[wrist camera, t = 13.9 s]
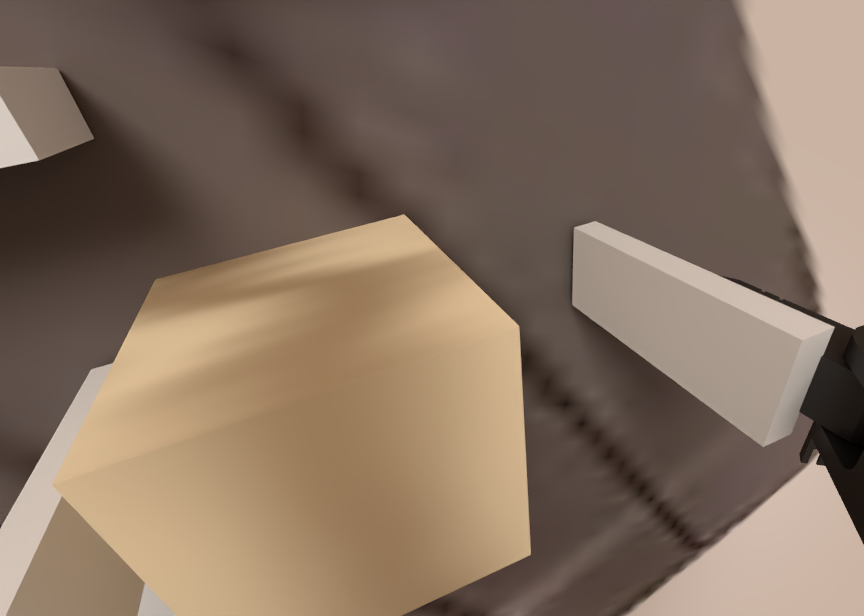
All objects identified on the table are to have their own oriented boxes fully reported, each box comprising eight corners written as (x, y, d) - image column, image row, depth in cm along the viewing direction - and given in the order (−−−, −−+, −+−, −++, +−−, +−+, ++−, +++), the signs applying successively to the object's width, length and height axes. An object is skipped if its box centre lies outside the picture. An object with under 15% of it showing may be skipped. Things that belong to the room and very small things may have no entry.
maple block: (251, 453, 13) (245, 688, 8) (155, 277, 10) (51, 485, 5) (436, 387, 14) (530, 554, 9) (403, 213, 11) (518, 326, 6)
